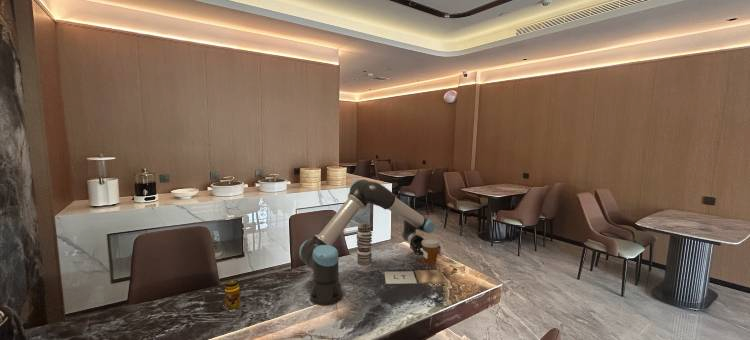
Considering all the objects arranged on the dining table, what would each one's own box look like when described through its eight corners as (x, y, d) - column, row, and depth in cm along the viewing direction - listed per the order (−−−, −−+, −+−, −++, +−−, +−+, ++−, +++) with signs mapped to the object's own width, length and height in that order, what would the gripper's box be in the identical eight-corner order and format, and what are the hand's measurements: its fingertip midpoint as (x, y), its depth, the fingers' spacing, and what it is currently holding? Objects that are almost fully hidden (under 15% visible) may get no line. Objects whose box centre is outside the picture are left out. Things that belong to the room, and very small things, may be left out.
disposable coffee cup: (418, 260, 172) (418, 239, 170) (433, 258, 175) (434, 237, 173) (426, 267, 163) (426, 245, 161) (442, 265, 166) (442, 243, 164)
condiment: (231, 313, 135) (229, 286, 134) (218, 308, 139) (217, 282, 138) (245, 305, 142) (244, 280, 140) (233, 300, 146) (232, 275, 144)
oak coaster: (418, 283, 162) (418, 281, 162) (414, 271, 176) (414, 270, 176) (445, 282, 163) (445, 281, 163) (439, 271, 177) (439, 269, 176)
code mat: (386, 284, 162) (386, 283, 162) (384, 272, 176) (384, 271, 176) (417, 283, 162) (417, 282, 162) (412, 271, 176) (412, 271, 176)
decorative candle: (375, 263, 188) (375, 222, 185) (366, 269, 180) (366, 226, 177) (362, 260, 192) (362, 220, 190) (353, 265, 185) (353, 224, 182)
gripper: (432, 245, 188) (452, 259, 167) (399, 249, 182) (416, 264, 161) (432, 233, 188) (452, 245, 166) (399, 236, 182) (416, 250, 160)
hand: (434, 255), depth 163 cm, fingers closed on disposable coffee cup, 8 cm apart
